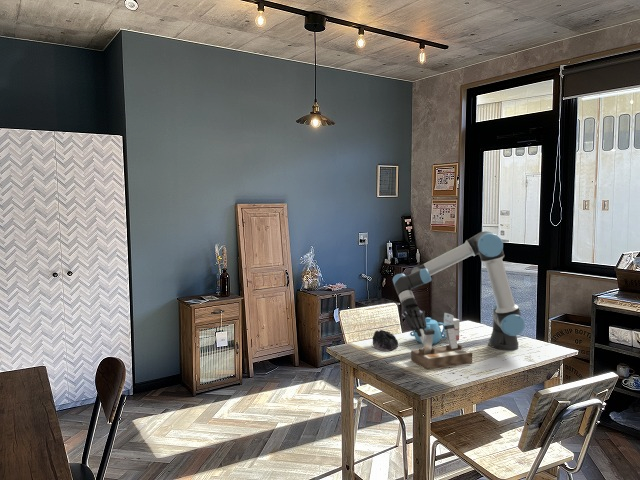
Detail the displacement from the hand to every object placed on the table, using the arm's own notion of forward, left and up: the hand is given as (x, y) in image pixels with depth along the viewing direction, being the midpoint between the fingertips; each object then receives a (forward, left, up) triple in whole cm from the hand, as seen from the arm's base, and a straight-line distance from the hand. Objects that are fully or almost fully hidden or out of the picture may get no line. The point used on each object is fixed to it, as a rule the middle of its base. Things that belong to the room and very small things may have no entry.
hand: (424, 341), depth 237 cm
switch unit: (-8, +2, -10) cm, 14 cm away
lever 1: (0, +1, -5) cm, 5 cm away
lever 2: (-16, +1, -5) cm, 17 cm away
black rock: (+6, -28, -11) cm, 31 cm away
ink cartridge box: (-37, -29, -11) cm, 49 cm away
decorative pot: (-21, -29, -11) cm, 37 cm away
